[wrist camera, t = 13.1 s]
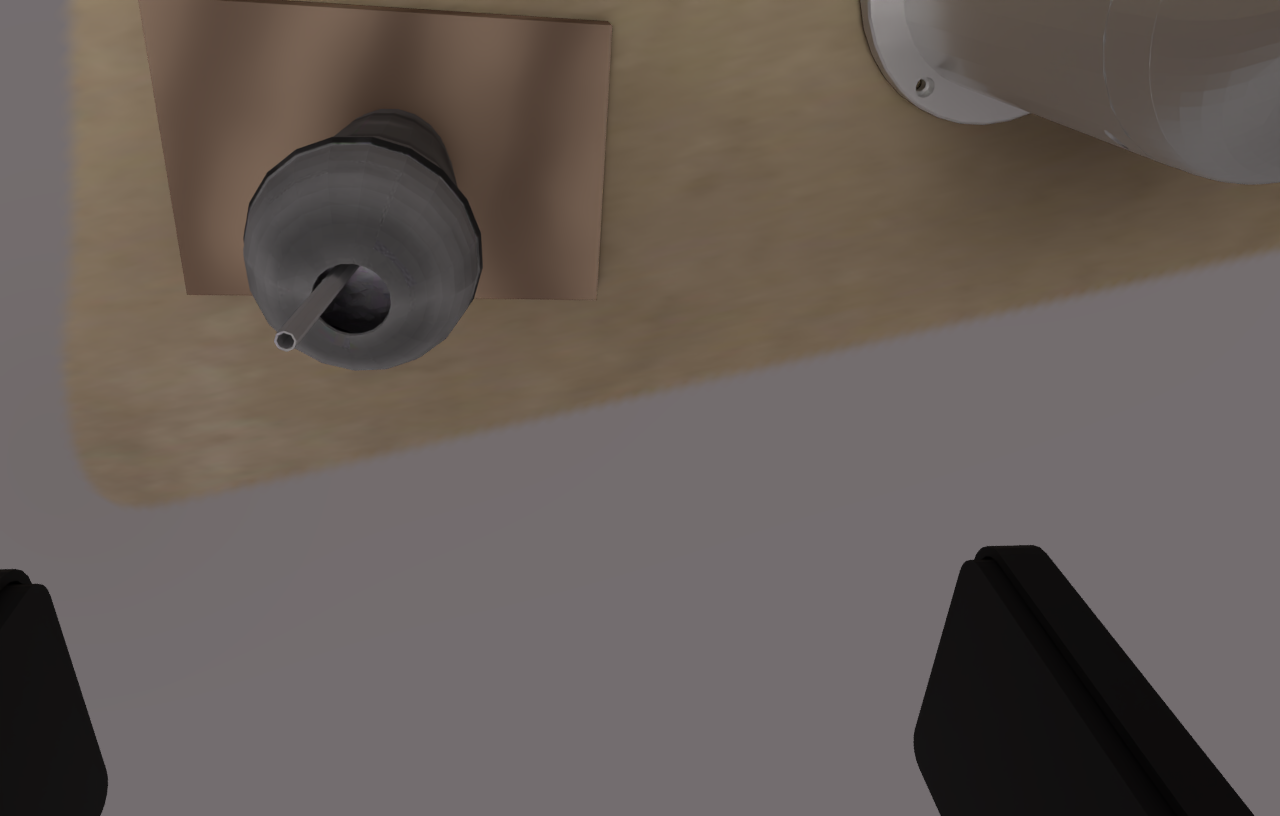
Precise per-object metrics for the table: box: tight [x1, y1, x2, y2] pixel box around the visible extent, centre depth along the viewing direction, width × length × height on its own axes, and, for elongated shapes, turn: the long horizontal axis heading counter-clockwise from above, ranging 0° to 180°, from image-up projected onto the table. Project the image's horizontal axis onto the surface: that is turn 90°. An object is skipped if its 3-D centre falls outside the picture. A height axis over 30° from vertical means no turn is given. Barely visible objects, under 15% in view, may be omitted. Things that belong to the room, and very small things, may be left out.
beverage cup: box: [243, 109, 483, 370], centre depth 30 cm, size 7×7×20 cm
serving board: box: [138, 0, 612, 300], centre depth 40 cm, size 18×12×2 cm, turn 86°
